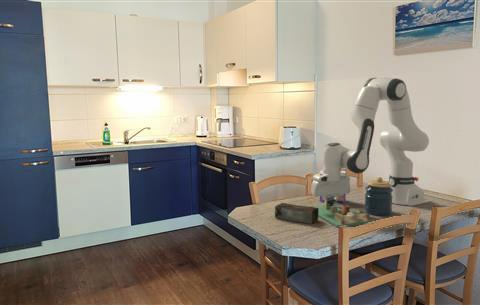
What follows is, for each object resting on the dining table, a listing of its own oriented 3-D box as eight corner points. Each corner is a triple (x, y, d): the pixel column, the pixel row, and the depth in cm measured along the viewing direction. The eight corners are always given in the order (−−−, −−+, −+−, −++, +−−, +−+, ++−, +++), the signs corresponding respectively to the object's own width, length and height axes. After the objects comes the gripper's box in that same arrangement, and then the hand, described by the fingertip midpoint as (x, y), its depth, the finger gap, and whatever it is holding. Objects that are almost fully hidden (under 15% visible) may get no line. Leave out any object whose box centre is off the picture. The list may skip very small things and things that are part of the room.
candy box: (344, 199, 221) (345, 170, 218) (345, 202, 215) (346, 172, 213) (319, 198, 223) (320, 169, 221) (319, 201, 217) (320, 171, 215)
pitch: (338, 205, 209) (339, 200, 208) (375, 223, 181) (375, 216, 180) (304, 208, 203) (304, 203, 202) (336, 227, 174) (336, 220, 174)
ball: (355, 211, 181) (356, 219, 180) (351, 211, 184) (352, 219, 184) (348, 212, 180) (349, 220, 179) (344, 212, 183) (345, 220, 183)
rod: (324, 207, 200) (325, 197, 199) (330, 206, 201) (330, 197, 200) (343, 217, 184) (344, 206, 183) (349, 216, 185) (349, 206, 184)
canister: (366, 215, 192) (368, 179, 190) (362, 207, 205) (363, 174, 202) (394, 216, 190) (396, 180, 188) (388, 209, 203) (390, 175, 201)
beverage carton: (281, 214, 195) (281, 200, 194) (319, 220, 185) (319, 206, 184) (274, 218, 188) (274, 204, 187) (312, 225, 178) (313, 211, 177)
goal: (361, 217, 186) (361, 210, 185) (369, 221, 180) (369, 213, 180) (334, 220, 181) (335, 212, 181) (342, 224, 176) (342, 216, 175)
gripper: (346, 173, 202) (345, 200, 204) (310, 176, 196) (309, 203, 198) (353, 176, 196) (352, 203, 198) (316, 178, 190) (315, 206, 192)
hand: (330, 203), depth 198 cm, fingers closed on rod, 3 cm apart
